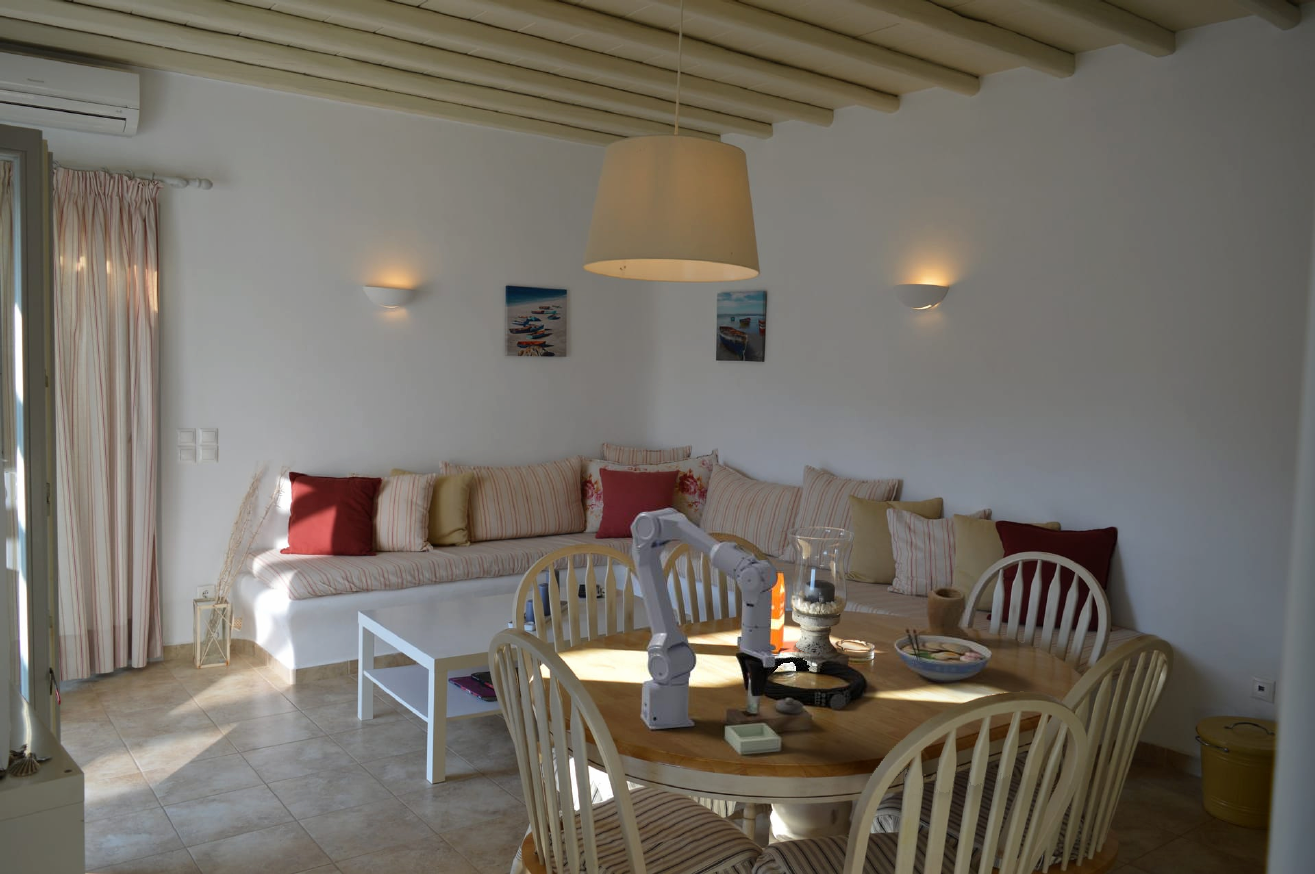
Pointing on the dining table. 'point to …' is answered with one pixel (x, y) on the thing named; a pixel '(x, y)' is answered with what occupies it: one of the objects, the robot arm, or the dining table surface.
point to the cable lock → (822, 697)
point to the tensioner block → (774, 716)
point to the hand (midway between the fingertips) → (754, 692)
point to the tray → (752, 738)
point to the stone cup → (945, 613)
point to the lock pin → (752, 700)
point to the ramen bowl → (942, 656)
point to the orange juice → (778, 613)
